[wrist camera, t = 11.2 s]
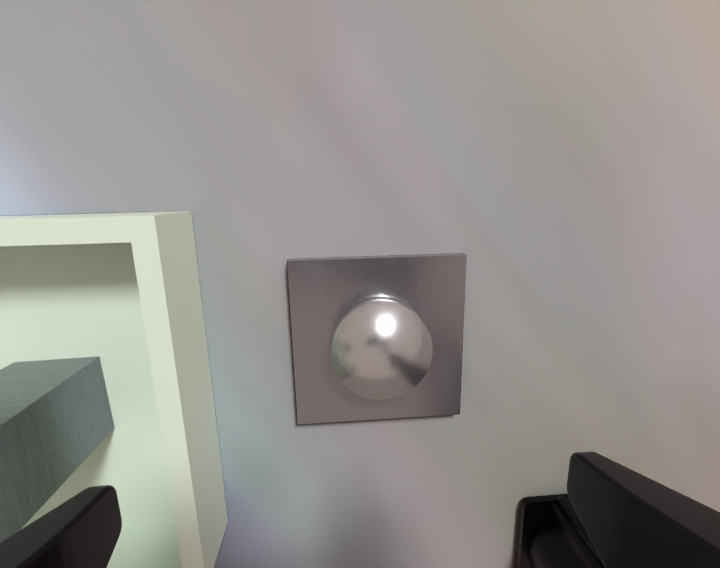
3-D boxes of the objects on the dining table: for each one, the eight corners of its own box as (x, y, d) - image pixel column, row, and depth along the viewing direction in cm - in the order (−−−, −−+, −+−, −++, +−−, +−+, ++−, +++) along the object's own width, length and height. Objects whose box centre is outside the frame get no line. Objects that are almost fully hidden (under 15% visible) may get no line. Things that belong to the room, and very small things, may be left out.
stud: (456, 408, 22) (468, 429, 20) (298, 418, 22) (295, 440, 20) (462, 253, 20) (476, 259, 18) (288, 259, 19) (283, 266, 18)
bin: (228, 521, 23) (207, 588, 19) (-25, 540, 22) (-102, 616, 18) (191, 211, 19) (153, 215, 15) (-122, 218, 18) (-250, 225, 14)
